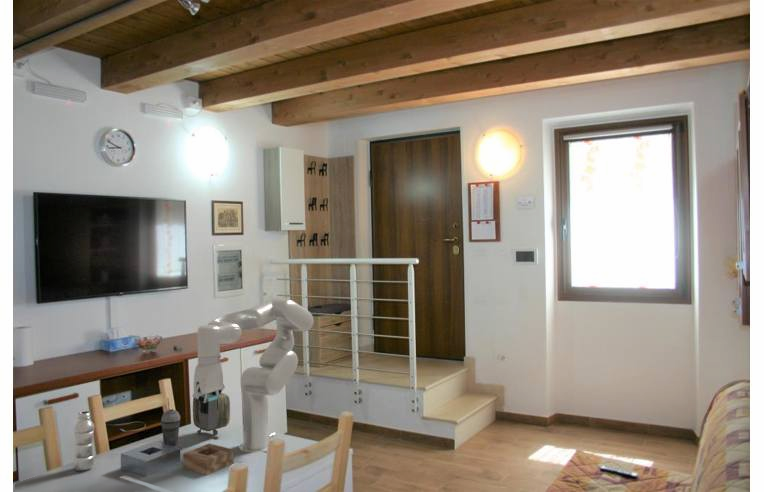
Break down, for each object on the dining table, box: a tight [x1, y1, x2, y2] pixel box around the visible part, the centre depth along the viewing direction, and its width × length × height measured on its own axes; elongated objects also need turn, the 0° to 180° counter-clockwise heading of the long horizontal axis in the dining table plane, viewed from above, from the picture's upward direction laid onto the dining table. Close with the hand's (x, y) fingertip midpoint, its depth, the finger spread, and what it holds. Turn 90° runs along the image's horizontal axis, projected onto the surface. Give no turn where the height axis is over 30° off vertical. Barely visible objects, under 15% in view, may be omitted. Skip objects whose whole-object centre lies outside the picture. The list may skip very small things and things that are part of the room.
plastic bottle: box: [73, 411, 95, 472], centre depth 198 cm, size 6×7×20 cm
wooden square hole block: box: [182, 443, 234, 476], centre depth 200 cm, size 12×12×6 cm
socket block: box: [120, 441, 181, 477], centre depth 200 cm, size 14×14×6 cm
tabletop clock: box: [192, 392, 231, 441], centre depth 234 cm, size 14×9×25 cm, turn 50°
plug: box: [200, 394, 217, 430], centre depth 200 cm, size 4×4×11 cm
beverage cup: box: [160, 397, 182, 448], centre depth 217 cm, size 7×7×20 cm
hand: (209, 410), depth 200 cm, fingers closed on plug, 4 cm apart
